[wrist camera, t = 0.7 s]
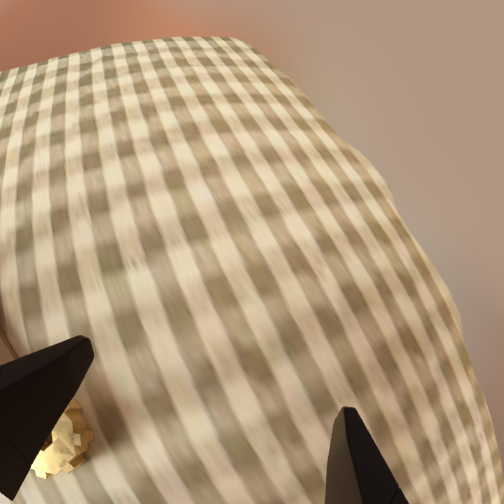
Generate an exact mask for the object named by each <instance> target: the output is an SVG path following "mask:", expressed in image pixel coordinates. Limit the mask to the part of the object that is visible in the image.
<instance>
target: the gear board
mask: <svg viewBox="0 0 504 504" xmlns="http://www.w3.org/2000/svg"><path fill="white" fill-rule="evenodd" d="M18 358H19V357H18V355H17V354H16V352H15V351H14V349H13V347H12V346H11V344H10V343H9V341H8V339H7V337H6V336H5V334H4V332H3V331H2V329H1V327H0V365H2V364H5V363H7V362H10V361H13V360H15V359H18Z"/></svg>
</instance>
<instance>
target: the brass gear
mask: <svg viewBox="0 0 504 504" xmlns="http://www.w3.org/2000/svg"><path fill="white" fill-rule="evenodd" d="M81 408H83V407H82V406H81V405H80V404H79V403H78V402H77V401H76V399H72V400H71V401H70V403H69V404H68V406H67V408H66V409H65V411H64V412H63V414H62V416H61V417H60V419H59V420H58V422H57V424H56V425H55V427H54V429H53V430H52V441H53V443H52V444H50V443H48V442H47V441H46V442H45V444H44V445H43V447H42V449H41V450H40V452H39V454H38V456H37V457H36V459H35V461H34V463H33V464H32V466H31V469H35V470H36V476H38V477H42V478H46V479H47V478H48V477H50V476H52V475H54V474H57V473H59V472H61V471H62V470H64V471H65V472H66V473H67V474H68V473H70V472H71V471H73V470H74V469H76V468H77V467H79V466H80V465H81V464H83V463H84V462H85V461H86V460H87V459H86V458H85V457H84V456H83V455H82V454H83V453H84V452H85V451H86V450H87V449H88V442H90V441H92V440H93V430H89V429H86V419H85V418H84V417H83V416H82V415H81V414H80V412H79V410H80V409H81Z"/></svg>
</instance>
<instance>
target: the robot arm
mask: <svg viewBox="0 0 504 504" xmlns="http://www.w3.org/2000/svg"><path fill="white" fill-rule="evenodd" d="M93 359H94V352H93V348H92V344H91V341H90V339H89V338H87V337H85V336H83V335H78V336H76V337H73V338H70V339H68V340H65V341H63V342H60V343H57V344H55V345H52V346H50V347H47V348H44V349H42V350H39V351H36V352H34V353H31V354H29V355H26V356H23V357H21V358H18V359H15V360H13V361H10V362H7V363H5V364H2V365H0V492H1V493H2V494H3V495H5V496H6V497H7V498H9V499H10V500H11V501H13V500H14V498H15V496H16V494H17V492H18V490H19V489H20V487H21V485H22V483H23V481H24V479H25V477H26V475H27V474H28V472H29V470H30V468H31V466H32V464H33V463H34V461H35V459H36V457H37V456H38V454H39V452H40V450H41V449H42V447H43V445H44V444H45V442H46V440H47V439H48V437H49V435H50V434H51V432H52V430H53V429H54V427H55V425H56V424H57V422H58V420H59V419H60V417H61V416H62V414H63V412H64V411H65V409H66V408H67V406H68V404H69V403H70V401H71V400H72V398H73V397H74V395H75V394H76V392H77V390H78V388H79V387H80V385H81V383H82V381H83V379H84V377H85V375H86V373H87V371H88V369H89V367H90V365H91V363H92V361H93ZM325 504H409V503H408V501H407V499H406V498H405V496H404V494H403V492H402V491H401V489H400V488H399V485H398V483H397V482H396V480H395V478H394V476H393V474H392V473H391V471H390V469H389V467H388V465H387V464H386V462H385V460H384V458H383V456H382V455H381V453H380V451H379V449H378V447H377V446H376V444H375V442H374V440H373V438H372V437H371V435H370V433H369V431H368V430H367V428H366V426H365V424H364V422H363V421H362V419H361V417H360V415H359V414H358V412H357V410H356V409H355V408H353V407H342V408H341V410H340V412H339V414H338V416H337V417H336V419H335V421H334V424H333V430H332V437H331V444H330V450H329V456H328V462H327V475H326V493H325Z"/></svg>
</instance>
